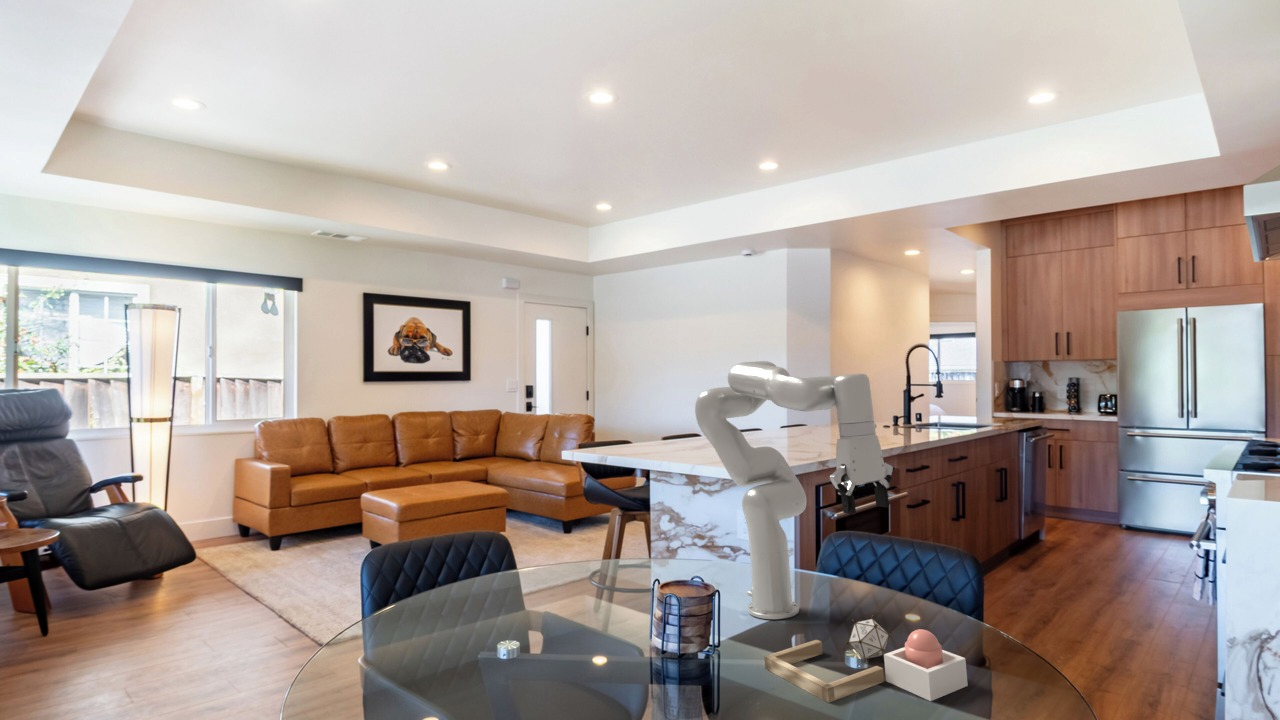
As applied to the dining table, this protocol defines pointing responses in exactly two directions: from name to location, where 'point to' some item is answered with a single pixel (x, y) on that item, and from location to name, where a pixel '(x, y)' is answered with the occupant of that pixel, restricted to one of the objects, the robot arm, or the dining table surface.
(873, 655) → the game die
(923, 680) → the white open box
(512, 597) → the dining table surface
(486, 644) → the dining table surface
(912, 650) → the dome
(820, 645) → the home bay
